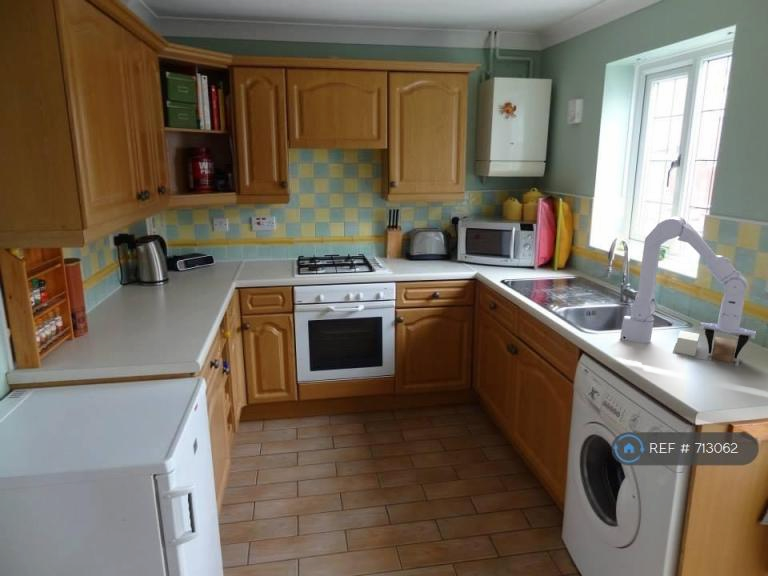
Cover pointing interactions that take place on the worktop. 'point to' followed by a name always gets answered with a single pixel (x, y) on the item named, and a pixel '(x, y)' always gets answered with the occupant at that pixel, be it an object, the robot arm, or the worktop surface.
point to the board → (707, 356)
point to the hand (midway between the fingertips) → (722, 354)
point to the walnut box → (723, 349)
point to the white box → (687, 343)
